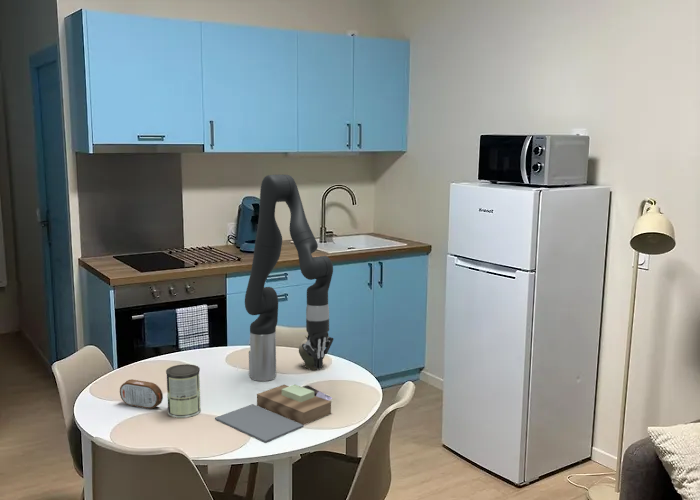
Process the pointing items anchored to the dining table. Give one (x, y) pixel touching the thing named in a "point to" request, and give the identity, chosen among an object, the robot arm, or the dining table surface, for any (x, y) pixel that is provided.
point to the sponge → (298, 393)
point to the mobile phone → (318, 393)
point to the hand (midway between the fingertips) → (318, 368)
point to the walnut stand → (293, 406)
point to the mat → (259, 423)
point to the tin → (141, 394)
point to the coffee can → (183, 390)
